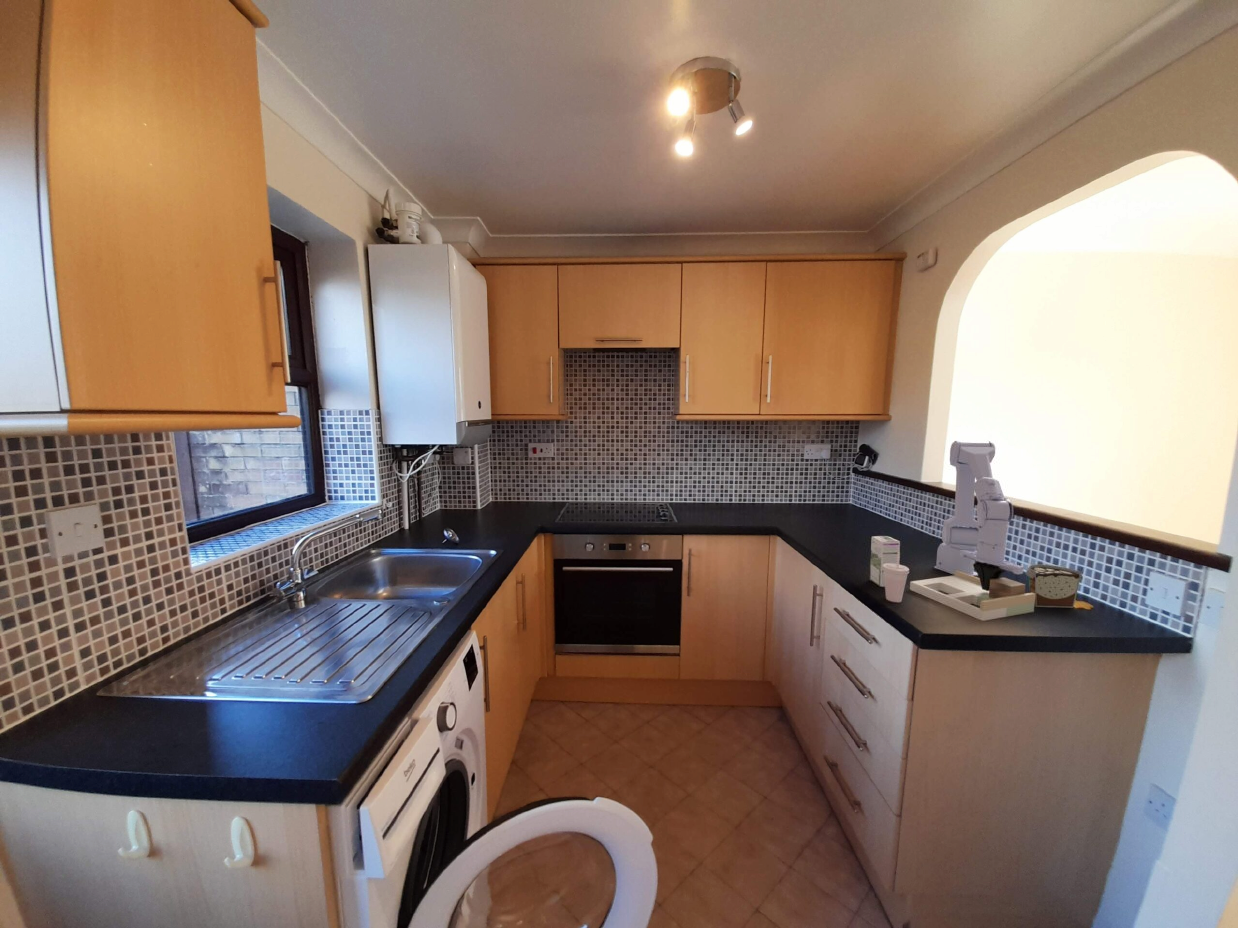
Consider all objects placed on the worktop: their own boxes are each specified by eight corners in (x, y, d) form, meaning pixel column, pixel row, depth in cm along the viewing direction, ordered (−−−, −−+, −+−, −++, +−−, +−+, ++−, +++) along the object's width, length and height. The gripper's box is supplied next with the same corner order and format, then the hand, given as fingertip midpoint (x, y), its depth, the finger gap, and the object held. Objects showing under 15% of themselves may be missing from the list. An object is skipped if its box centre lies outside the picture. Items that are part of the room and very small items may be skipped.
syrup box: (898, 586, 126) (901, 541, 124) (879, 587, 126) (881, 541, 125) (887, 579, 132) (889, 535, 130) (868, 579, 132) (870, 535, 130)
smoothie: (911, 605, 114) (915, 556, 112) (886, 603, 115) (889, 555, 114) (900, 595, 120) (903, 548, 119) (876, 593, 121) (879, 548, 120)
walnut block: (988, 596, 113) (990, 579, 112) (1002, 594, 114) (1003, 577, 113) (1009, 604, 108) (1011, 586, 107) (1023, 602, 109) (1025, 584, 108)
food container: (1057, 597, 117) (1061, 563, 116) (1079, 607, 111) (1083, 572, 110) (1010, 596, 118) (1013, 563, 117) (1029, 606, 112) (1033, 571, 111)
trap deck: (909, 589, 124) (910, 573, 124) (955, 582, 128) (957, 567, 128) (982, 620, 105) (984, 602, 104) (1033, 611, 109) (1035, 593, 109)
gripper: (953, 536, 120) (949, 581, 121) (1011, 552, 106) (1006, 602, 107) (971, 534, 121) (967, 578, 123) (1031, 549, 107) (1026, 599, 109)
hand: (987, 589), depth 115 cm, fingers closed
